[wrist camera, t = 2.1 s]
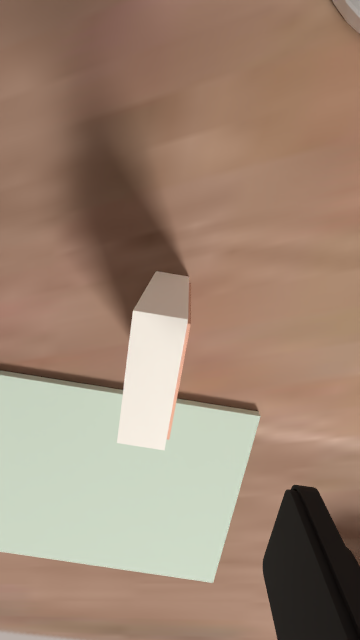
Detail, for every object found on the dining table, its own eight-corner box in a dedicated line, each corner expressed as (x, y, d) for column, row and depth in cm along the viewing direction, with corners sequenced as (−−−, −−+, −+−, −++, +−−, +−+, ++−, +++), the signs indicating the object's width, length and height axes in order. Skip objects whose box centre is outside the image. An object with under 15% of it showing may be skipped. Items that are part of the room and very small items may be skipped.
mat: (-8, 369, 24) (-13, 373, 23) (258, 411, 24) (260, 416, 24) (-3, 543, 30) (-7, 550, 29) (212, 575, 30) (212, 582, 29)
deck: (156, 270, 21) (132, 310, 13) (191, 276, 21) (191, 320, 13) (143, 358, 23) (117, 443, 15) (176, 363, 23) (167, 450, 15)
